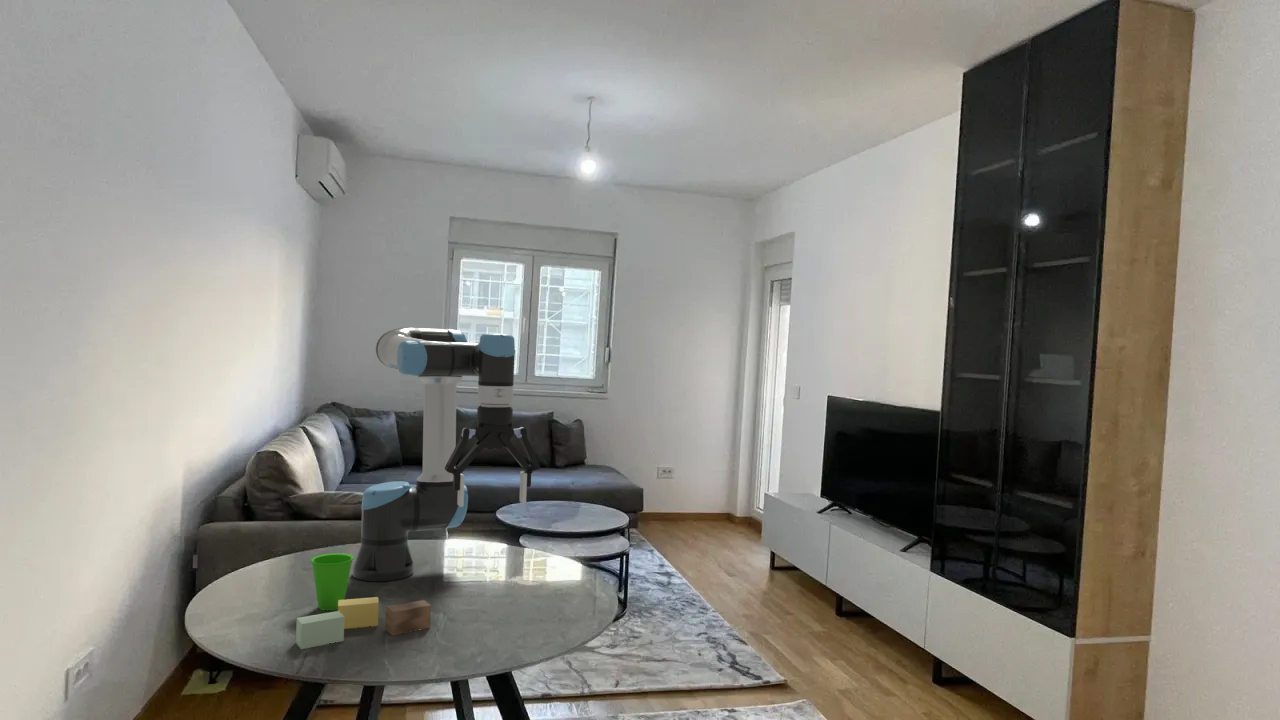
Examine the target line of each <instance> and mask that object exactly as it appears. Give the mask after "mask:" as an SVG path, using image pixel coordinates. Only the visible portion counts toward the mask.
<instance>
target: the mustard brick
mask: <svg viewBox="0 0 1280 720" xmlns="http://www.w3.org/2000/svg"><path fill="white" fill-rule="evenodd" d="M379 605H380V604H379V596H373V597H372V596H371V597H360V598H350V599H348V598H347V599H346V598H345V599H344V600H338V609H337V611H339V612H340V613H341V614H342V615H343V616H344V630H347V629H359V628H367V627H369V626H371V627H378V626H379V607H380V606H379ZM358 627H359V628H358Z"/></svg>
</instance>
